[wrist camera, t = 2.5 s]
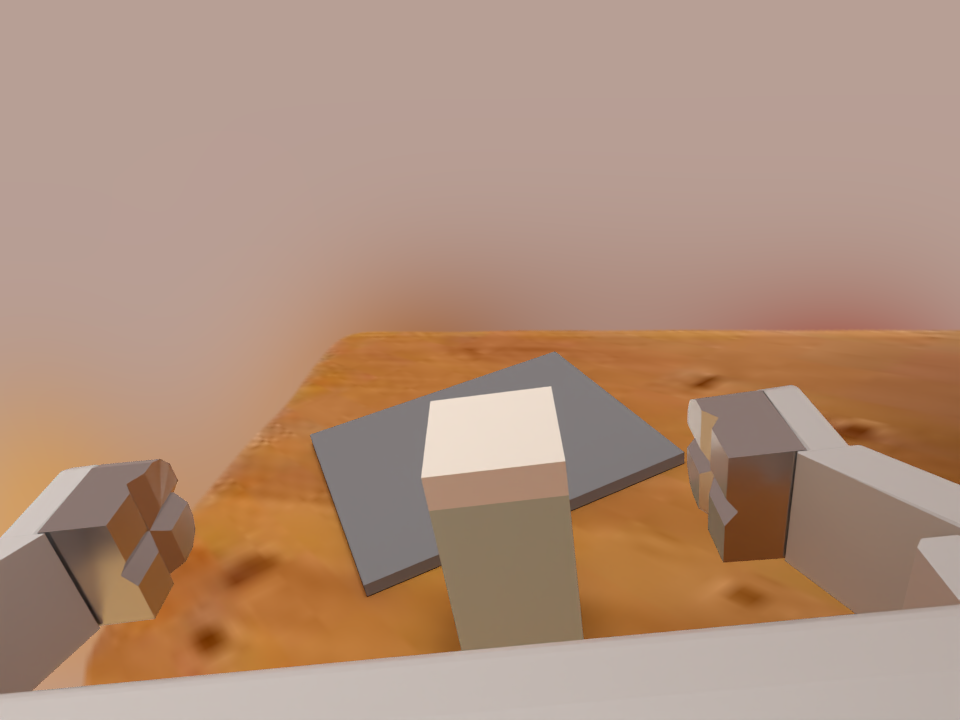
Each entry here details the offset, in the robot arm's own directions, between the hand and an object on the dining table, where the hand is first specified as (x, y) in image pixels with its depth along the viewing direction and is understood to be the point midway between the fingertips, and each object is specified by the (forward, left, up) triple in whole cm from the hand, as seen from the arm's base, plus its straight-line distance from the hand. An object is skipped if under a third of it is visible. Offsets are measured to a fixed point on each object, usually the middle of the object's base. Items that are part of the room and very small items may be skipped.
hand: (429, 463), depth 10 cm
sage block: (-5, -11, -20) cm, 23 cm away
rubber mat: (-9, -26, -20) cm, 34 cm away
